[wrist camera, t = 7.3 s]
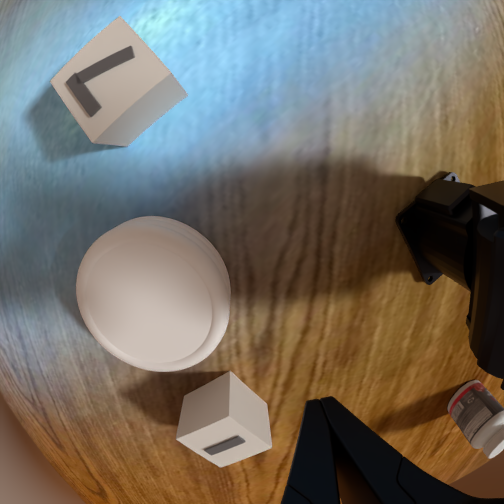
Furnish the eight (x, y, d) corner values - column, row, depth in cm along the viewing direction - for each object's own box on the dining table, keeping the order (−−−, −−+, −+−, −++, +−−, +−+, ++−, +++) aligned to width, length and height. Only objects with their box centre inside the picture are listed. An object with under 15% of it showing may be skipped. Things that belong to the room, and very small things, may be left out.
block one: (266, 403, 23) (272, 449, 18) (222, 425, 24) (220, 469, 19) (230, 369, 22) (229, 418, 17) (184, 395, 23) (175, 441, 18)
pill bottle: (484, 383, 25) (524, 429, 16) (456, 414, 27) (490, 463, 17) (470, 373, 24) (515, 425, 15) (439, 408, 26) (477, 463, 16)
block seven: (188, 95, 16) (170, 71, 11) (127, 146, 17) (90, 143, 12) (146, 46, 15) (118, 14, 10) (89, 96, 16) (47, 80, 11)
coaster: (124, 188, 18) (101, 194, 14) (258, 260, 19) (262, 280, 16) (81, 306, 20) (60, 328, 17) (193, 365, 22) (187, 395, 18)
